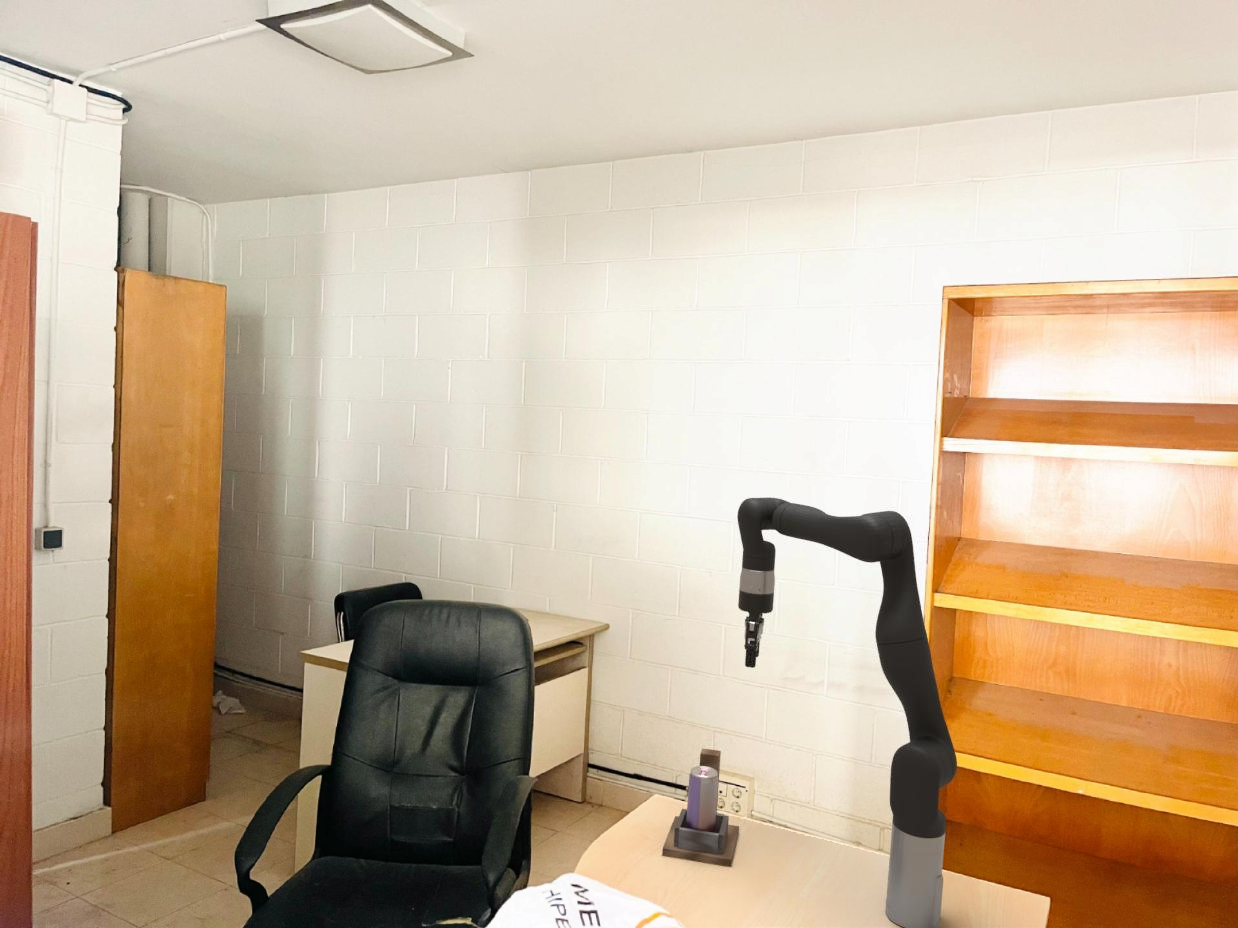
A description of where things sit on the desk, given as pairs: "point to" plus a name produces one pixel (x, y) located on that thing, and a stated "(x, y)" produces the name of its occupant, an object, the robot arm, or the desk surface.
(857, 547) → the robot arm
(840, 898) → the desk surface
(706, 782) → the beverage can
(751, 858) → the desk surface
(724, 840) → the post holder
